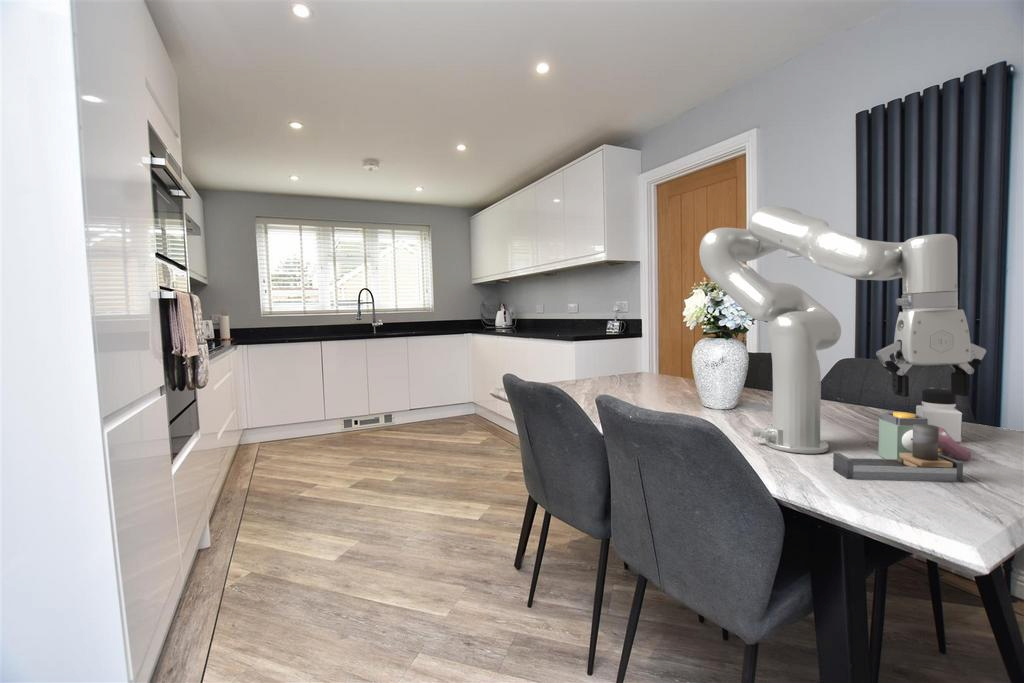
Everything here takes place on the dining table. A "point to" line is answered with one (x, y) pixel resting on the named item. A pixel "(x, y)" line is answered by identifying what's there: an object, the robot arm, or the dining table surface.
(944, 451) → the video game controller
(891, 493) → the dining table surface
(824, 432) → the dining table surface
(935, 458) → the carriage
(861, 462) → the track
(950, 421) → the medicine bottle
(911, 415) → the button
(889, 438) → the gauge cabinet
